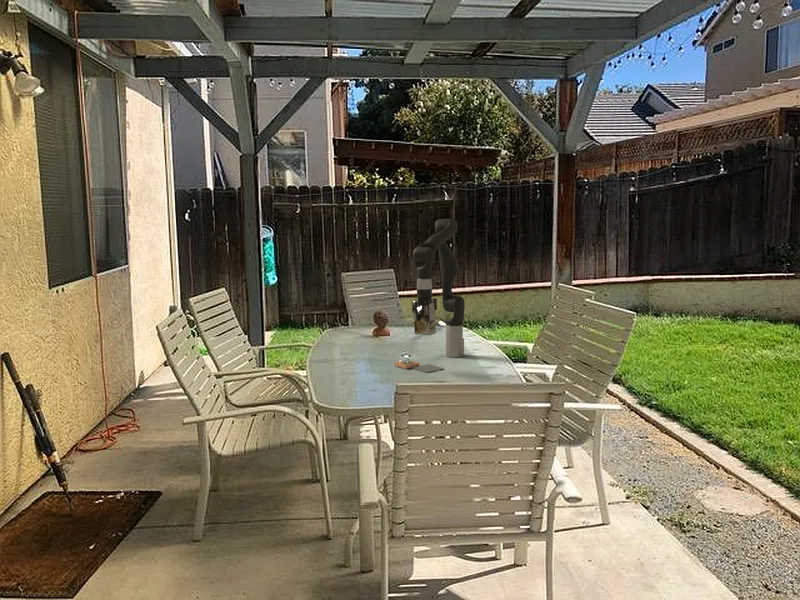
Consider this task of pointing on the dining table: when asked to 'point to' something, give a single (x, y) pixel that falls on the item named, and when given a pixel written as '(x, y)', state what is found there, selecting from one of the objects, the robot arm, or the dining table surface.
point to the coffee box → (425, 319)
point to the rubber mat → (427, 368)
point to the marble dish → (414, 364)
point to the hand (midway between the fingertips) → (424, 320)
